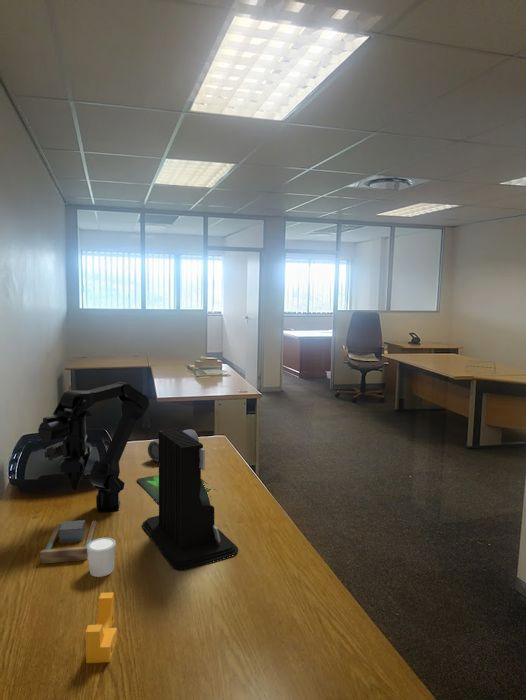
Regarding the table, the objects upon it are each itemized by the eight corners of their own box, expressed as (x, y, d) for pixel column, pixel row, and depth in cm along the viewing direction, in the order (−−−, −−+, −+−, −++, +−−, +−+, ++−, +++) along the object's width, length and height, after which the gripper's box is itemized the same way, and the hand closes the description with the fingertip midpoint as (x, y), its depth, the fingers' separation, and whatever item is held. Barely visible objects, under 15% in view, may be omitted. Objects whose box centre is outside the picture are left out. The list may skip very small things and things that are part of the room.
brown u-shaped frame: (96, 524, 145) (96, 515, 145) (86, 559, 126) (86, 548, 126) (56, 527, 143) (56, 517, 143) (40, 563, 124) (40, 552, 123)
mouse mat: (221, 495, 170) (221, 492, 169) (161, 508, 158) (161, 505, 158) (189, 470, 192) (189, 468, 192) (134, 481, 181) (134, 478, 180)
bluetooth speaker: (163, 466, 196) (162, 442, 195) (146, 461, 201) (146, 438, 200) (199, 451, 215) (199, 429, 214) (184, 447, 220) (184, 426, 219)
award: (242, 554, 130) (243, 446, 127) (176, 573, 121) (176, 457, 117) (197, 510, 156) (197, 419, 153) (139, 523, 147) (138, 427, 143)
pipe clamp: (109, 662, 91) (109, 630, 90) (86, 664, 91) (85, 632, 90) (122, 620, 103) (122, 592, 102) (101, 621, 103) (101, 592, 102)
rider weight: (85, 533, 140) (85, 520, 140) (82, 541, 135) (82, 528, 135) (63, 534, 139) (63, 521, 139) (59, 543, 134) (59, 529, 134)
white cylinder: (121, 566, 123) (121, 539, 123) (104, 580, 117) (104, 553, 116) (99, 560, 126) (98, 535, 125) (81, 575, 119) (80, 547, 118)
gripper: (53, 426, 151) (55, 474, 153) (38, 444, 133) (40, 499, 134) (90, 424, 153) (92, 472, 155) (81, 442, 135) (83, 496, 137)
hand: (77, 484), depth 145 cm, fingers open, 8 cm apart
